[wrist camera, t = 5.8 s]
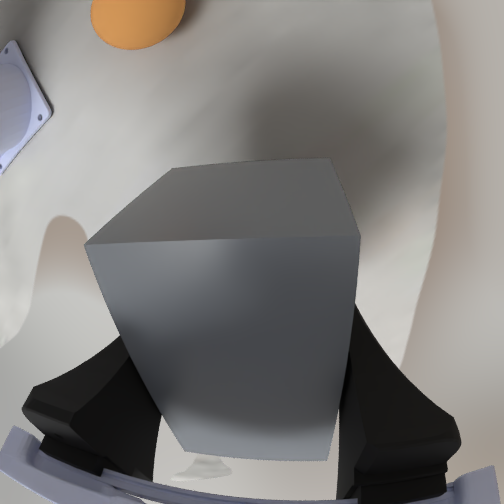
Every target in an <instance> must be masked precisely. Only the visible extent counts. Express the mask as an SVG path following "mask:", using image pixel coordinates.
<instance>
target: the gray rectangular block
mask: <svg viewBox="0 0 504 504" xmlns="http://www.w3.org/2000/svg"><path fill="white" fill-rule="evenodd" d="M360 238H361V235H360V232H359V230H358V227H357V224H356V221H355V219H354V216H353V213H352V211H351V208H350V206H349V203H348V200H347V198H346V195H345V193H344V190H343V188H342V185H341V183H340V180H339V178H338V176H337V173H336V171H335V168H334V166H333V164H332V161H331V159H330V158H305V159H280V160H262V161H246V162H233V163H221V164H210V165H199V166H190V167H180V168H172V169H171V170H170V171H168V172H167V173H166V174H165V175H163V176H162V177H161V178H160V179H158V180H157V181H156V182H155V183H153V184H152V185H151V186H150V187H149V188H147V189H146V190H145V191H144V192H142V193H141V194H140V195H139V196H138V197H137V198H135V199H134V200H133V201H132V202H131V203H129V204H128V205H127V206H126V207H125V208H124V209H123V210H121V211H120V212H119V213H118V214H117V215H116V216H115V217H113V218H112V219H111V220H110V221H109V222H108V223H107V224H106V225H104V226H103V227H102V228H101V229H100V230H99V231H98V232H97V233H96V234H95V235H94V236H93V237H91V238H90V239H89V240H88V241H87V242H86V243H85V244H84V247H85V250H86V253H87V256H88V258H89V261H90V264H91V267H92V269H93V271H94V275H95V277H96V280H97V282H98V285H99V287H100V290H101V292H102V295H103V297H104V300H105V302H106V304H107V307H108V309H109V311H110V314H111V316H112V318H113V320H114V323H115V325H116V327H117V329H118V331H119V334H120V336H121V338H122V340H123V342H124V344H125V346H126V348H127V351H128V353H129V355H130V357H131V359H132V361H133V363H134V365H135V367H136V369H137V370H138V372H139V374H140V376H141V378H142V380H143V382H144V384H145V386H146V387H147V389H148V391H149V393H150V395H151V397H152V398H153V400H154V402H155V404H156V405H157V407H158V409H159V411H160V412H161V414H162V416H163V417H164V419H165V421H166V422H167V424H168V426H169V427H170V429H171V430H172V432H173V434H174V435H175V437H176V439H177V440H178V442H179V443H180V445H181V446H182V448H183V449H184V451H187V452H194V453H199V454H206V455H214V456H223V457H233V458H244V459H257V460H276V461H327V459H328V455H329V451H330V446H331V442H332V438H333V433H334V429H335V424H336V419H337V414H338V409H339V404H340V399H341V394H342V388H343V382H344V377H345V371H346V365H347V358H348V352H349V345H350V338H351V330H352V323H353V315H354V306H355V297H356V287H357V277H358V265H359V252H360Z"/></svg>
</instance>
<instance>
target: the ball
mask: <svg viewBox="0 0 504 504" xmlns="http://www.w3.org/2000/svg"><path fill="white" fill-rule="evenodd" d="M184 10H185V0H93V2H92V6H91V22H92V25H93V28H94V30H95V32H96V33H97V35H98V36H99V37H100V38H101V39H102V40H103V41H105V42H106V43H107V44H109V45H111V46H114V47H116V48H120V49H126V50H135V49H142V48H146V47H150V46H152V45H154V44H157V43H159V42H160V41H162V40H163V39H165V38H166V37H167V36H169V35H170V34H171V33H172V32H173V31H174V30H175V28H176V27H177V26H178V24H179V23H180V21H181V19H182V16H183V14H184Z"/></svg>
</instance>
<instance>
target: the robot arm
mask: <svg viewBox="0 0 504 504" xmlns="http://www.w3.org/2000/svg"><path fill="white" fill-rule="evenodd" d="M41 115H42V118H41ZM50 116H51V109H50V107H49V105H48V103H47V101H46V99H45V98H44V96H43V94H42V92H41V90H40V88H39V86H38V85H37V83H36V81H35V79H34V77H33V75H32V73H31V71H30V69H29V67H28V65H27V63H26V61H25V59H24V57H23V55H22V53H21V51H20V49H19V47H18V45H17V43H16V41H15V40H12V41H9V42H8V43H7V45H6V46H5V47H4V49H3V50H2V52H1V53H0V176H1V175H2V173H3V172H4V171H5V169H6V168H7V167H8V165H9V164H10V163H11V162H12V160H13V159H14V158H15V157H16V155H17V154H18V153H19V152H20V151H21V149H22V148H23V147H24V146H25V145H26V143H27V142H28V141H29V140H30V139H31V138H32V137H33V135H34V134H35V133H36V132H37V131H38V130H39V129H40V128H41V127H42V125H43V124H44V123H45V122H46V121H47V120H48V119H49V118H50ZM22 412H23V414H24V415H25V417H26V418H27V419H28V420H29V421H30V422H31V423H32V424H33V425H34V426H35V427H37V428H38V429H39V430H40V431H41V432H42V433H43V434H45V436H44V439H43V440H42V443H41V442H40V441H39V440H38V439H37V438H36V437H35V436H33V435H32V434H30V433H29V432H27V431H25V430H23V429H21V428H19V427H17V426H13V427H12V429H11V431H10V433H9V435H8V437H7V439H6V441H5V443H4V445H3V447H2V449H1V451H0V471H1V472H3V473H4V474H5V475H7V476H8V477H10V478H12V479H13V480H15V481H16V482H18V483H19V484H21V485H23V486H24V487H26V488H28V489H29V490H31V491H33V492H34V493H36V494H38V495H39V496H41V497H43V498H45V499H47V500H48V501H51V502H52V503H54V504H146V503H144V502H143V501H142V500H141V499H139V498H136V497H134V496H137V497H140V498H144V499H148V500H151V501H156V502H160V503H163V504H500V497H499V490H498V484H497V479H496V473H495V468H494V466H492V465H491V466H488V467H485V468H482V469H479V470H476V471H472V472H469V473H466V474H464V475H461V476H460V477H458V478H457V479H456V480H455V481H454V482H451V483H448V484H446V478H445V473H446V472H447V470H448V468H447V461H448V460H449V459H450V458H451V457H452V456H453V455H454V454H455V453H456V452H457V451H458V449H459V448H460V446H461V438H460V433H459V430H458V427H457V425H456V422H455V420H454V417H452V416H451V415H449V414H448V413H447V412H445V411H444V410H442V409H441V408H440V407H438V406H437V405H436V404H435V403H433V402H432V401H431V400H430V399H428V398H427V397H426V396H425V395H424V394H423V393H422V392H421V391H420V390H419V389H418V388H417V387H415V385H414V384H412V383H411V382H410V381H409V380H408V379H407V378H406V376H404V374H403V373H402V372H401V371H400V370H399V369H398V367H397V366H396V365H395V364H394V363H393V362H392V360H391V359H390V358H389V356H388V355H387V354H386V353H385V351H384V350H383V348H382V347H381V346H380V344H379V343H378V341H377V340H376V338H375V337H374V335H373V334H372V332H371V331H370V329H369V327H368V326H367V324H366V322H365V321H364V319H363V317H362V315H361V314H360V312H359V310H358V308H357V306H356V304H355V306H354V315H353V323H352V330H351V338H350V345H349V352H348V358H347V365H346V371H345V377H344V382H343V388H342V394H341V399H340V404H339V462H338V481H337V494H336V500H319V501H289V500H266V499H252V498H240V497H232V496H223V495H217V494H210V493H203V492H197V491H192V490H186V489H181V488H176V487H171V486H167V485H162V484H158V483H154V482H153V469H154V458H155V450H156V443H157V437H158V431H159V426H160V421H161V416H162V414H161V412H160V411H159V409H158V407H157V405H156V404H155V402H154V400H153V398H152V397H151V395H150V393H149V391H148V389H147V387H146V386H145V384H144V382H143V380H142V378H141V376H140V374H139V372H138V370H137V369H136V367H135V365H134V363H133V361H132V359H131V357H130V355H129V353H128V351H127V348H126V346H125V344H124V342H123V340H122V338H121V336H119V337H118V338H116V339H115V340H114V341H113V342H112V343H111V344H109V345H108V346H107V347H105V348H104V349H103V350H101V351H100V352H99V353H97V354H96V355H95V356H93V357H92V358H90V359H89V360H87V361H85V362H84V363H82V364H81V365H79V366H77V367H76V368H74V369H72V370H70V371H68V372H67V373H65V374H63V375H61V376H59V377H57V378H54V379H52V380H50V381H48V382H45V383H43V384H40V385H38V386H35V387H33V389H32V391H31V392H30V394H29V396H28V398H27V400H26V402H25V403H24V405H23V407H22ZM126 493H127V494H126ZM129 494H130V495H129ZM131 495H134V496H131Z"/></svg>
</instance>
